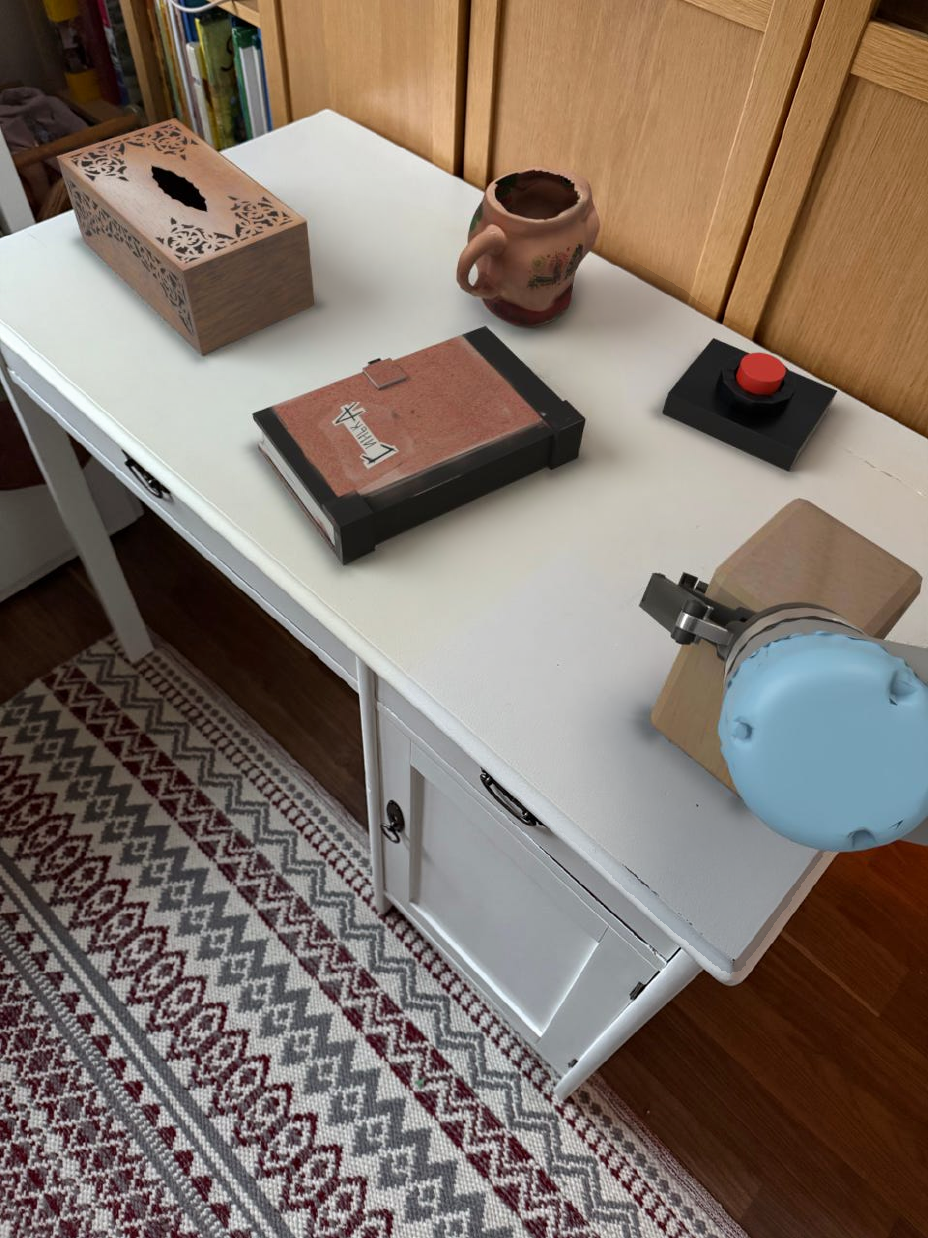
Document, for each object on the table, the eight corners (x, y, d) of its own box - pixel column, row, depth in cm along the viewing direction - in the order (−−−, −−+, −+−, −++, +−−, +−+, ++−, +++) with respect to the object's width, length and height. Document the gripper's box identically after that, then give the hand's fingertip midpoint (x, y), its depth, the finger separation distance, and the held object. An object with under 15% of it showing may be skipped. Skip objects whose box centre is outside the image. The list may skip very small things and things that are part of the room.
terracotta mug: (506, 377, 96) (519, 258, 84) (418, 327, 100) (419, 207, 88) (611, 292, 105) (635, 175, 94) (527, 250, 109) (540, 133, 98)
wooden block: (816, 728, 73) (935, 574, 56) (745, 808, 68) (852, 667, 52) (715, 652, 77) (799, 487, 60) (642, 723, 72) (711, 566, 56)
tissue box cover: (83, 241, 106) (56, 156, 98) (192, 201, 112) (175, 117, 103) (202, 355, 95) (182, 271, 87) (314, 304, 101) (306, 220, 93)
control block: (827, 410, 95) (844, 376, 91) (788, 471, 89) (804, 437, 86) (706, 358, 99) (718, 323, 95) (661, 413, 94) (672, 378, 90)
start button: (786, 377, 91) (792, 363, 90) (769, 401, 89) (775, 387, 88) (746, 360, 93) (751, 346, 91) (728, 383, 90) (733, 369, 89)
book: (479, 357, 97) (482, 317, 93) (577, 457, 89) (585, 418, 85) (255, 444, 88) (248, 404, 84) (343, 565, 80) (339, 527, 76)
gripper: (553, 652, 49) (605, 614, 70) (1012, 854, 44) (922, 748, 64) (606, 523, 48) (644, 523, 68) (1088, 715, 42) (971, 652, 63)
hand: (779, 632), depth 66 cm, fingers closed on wooden block, 12 cm apart
